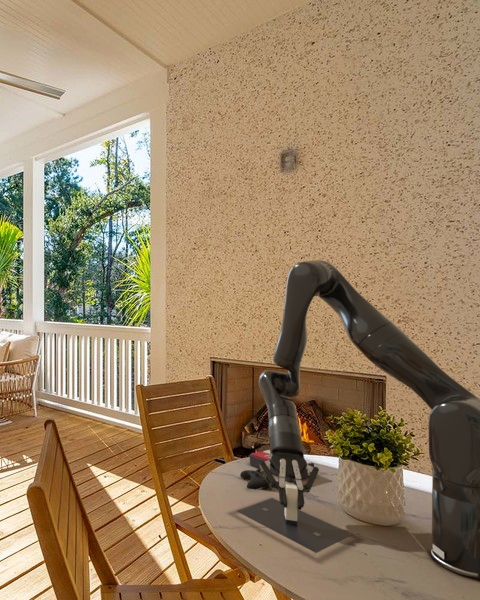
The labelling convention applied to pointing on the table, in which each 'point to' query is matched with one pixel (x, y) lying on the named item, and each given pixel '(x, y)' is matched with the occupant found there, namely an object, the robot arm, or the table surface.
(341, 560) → the table surface
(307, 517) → the tablet
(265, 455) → the calculator
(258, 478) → the game controller
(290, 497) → the tall cream square pillar
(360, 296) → the robot arm
